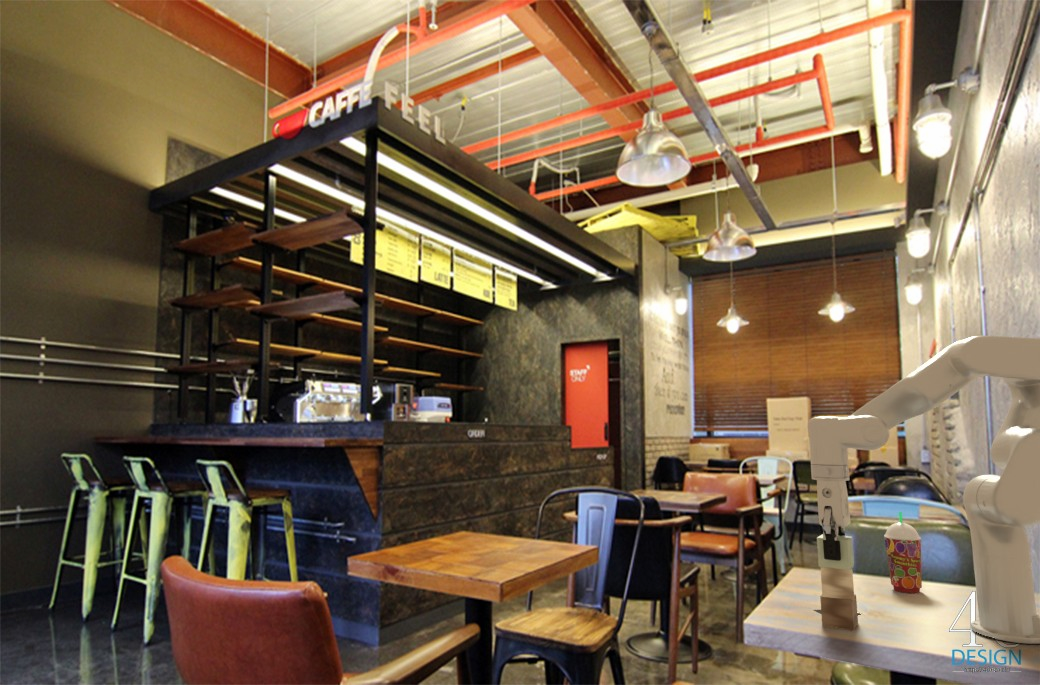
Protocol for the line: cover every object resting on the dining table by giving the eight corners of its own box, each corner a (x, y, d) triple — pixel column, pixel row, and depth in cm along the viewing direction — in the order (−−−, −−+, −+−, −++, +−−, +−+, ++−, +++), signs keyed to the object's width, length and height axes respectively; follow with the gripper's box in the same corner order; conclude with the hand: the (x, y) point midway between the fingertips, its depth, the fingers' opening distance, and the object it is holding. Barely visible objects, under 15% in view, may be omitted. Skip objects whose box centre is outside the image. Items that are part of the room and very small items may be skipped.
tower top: (854, 593, 137) (851, 564, 138) (854, 600, 132) (852, 570, 132) (823, 590, 140) (821, 562, 140) (822, 596, 134) (820, 567, 135)
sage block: (854, 565, 137) (852, 536, 138) (849, 570, 132) (847, 540, 133) (823, 562, 141) (822, 534, 142) (818, 566, 136) (816, 537, 137)
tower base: (858, 623, 135) (856, 594, 136) (853, 630, 131) (851, 600, 131) (827, 619, 139) (825, 590, 140) (822, 625, 134) (820, 596, 135)
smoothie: (892, 593, 161) (886, 512, 164) (884, 586, 169) (878, 509, 172) (930, 596, 159) (923, 514, 162) (920, 588, 167) (913, 510, 170)
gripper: (842, 475, 130) (848, 565, 128) (855, 471, 144) (861, 553, 142) (803, 474, 134) (808, 561, 132) (819, 470, 148) (824, 549, 146)
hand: (835, 556), depth 137 cm, fingers open, 7 cm apart
